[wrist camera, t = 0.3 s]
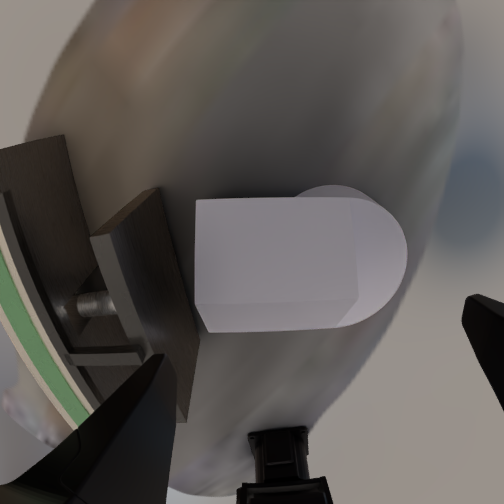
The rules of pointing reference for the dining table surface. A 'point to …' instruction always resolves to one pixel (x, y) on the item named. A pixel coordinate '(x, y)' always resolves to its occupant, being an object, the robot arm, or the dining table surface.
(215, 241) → the wedge on round base
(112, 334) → the gauge housing
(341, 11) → the dining table surface
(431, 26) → the dining table surface
